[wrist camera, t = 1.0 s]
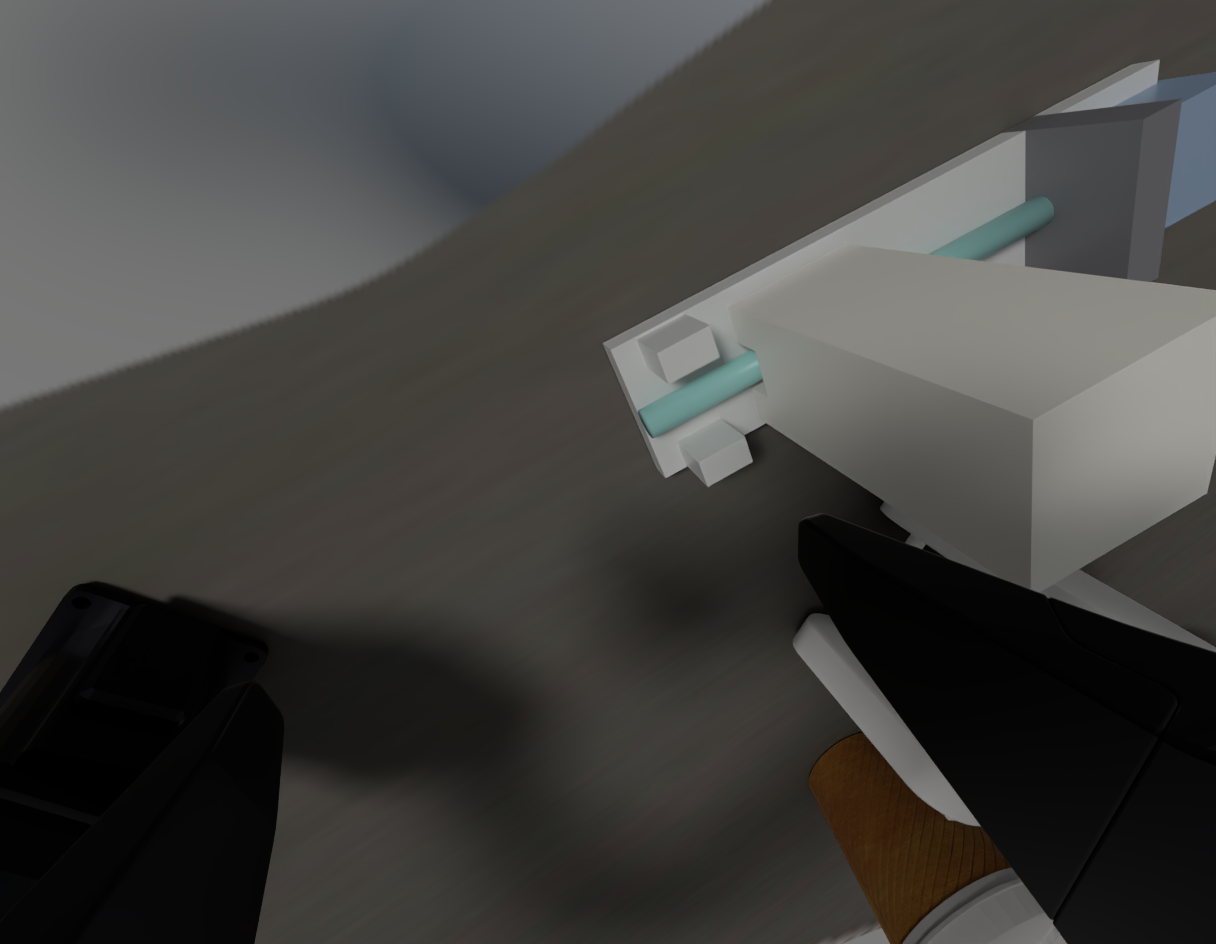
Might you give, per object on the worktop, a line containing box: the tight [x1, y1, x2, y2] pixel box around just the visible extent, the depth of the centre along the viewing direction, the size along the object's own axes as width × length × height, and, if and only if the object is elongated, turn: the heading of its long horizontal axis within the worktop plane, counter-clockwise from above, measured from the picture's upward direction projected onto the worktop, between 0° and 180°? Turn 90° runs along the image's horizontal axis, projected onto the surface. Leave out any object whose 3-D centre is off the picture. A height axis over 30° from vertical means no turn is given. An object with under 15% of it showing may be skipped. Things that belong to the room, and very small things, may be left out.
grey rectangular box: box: [728, 244, 1216, 593], centre depth 17 cm, size 5×5×12 cm
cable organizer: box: [792, 501, 1216, 826], centre depth 28 cm, size 15×11×12 cm
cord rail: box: [603, 60, 1216, 487], centre depth 21 cm, size 24×6×5 cm, turn 114°
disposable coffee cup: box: [809, 733, 1061, 944], centre depth 34 cm, size 10×10×12 cm
